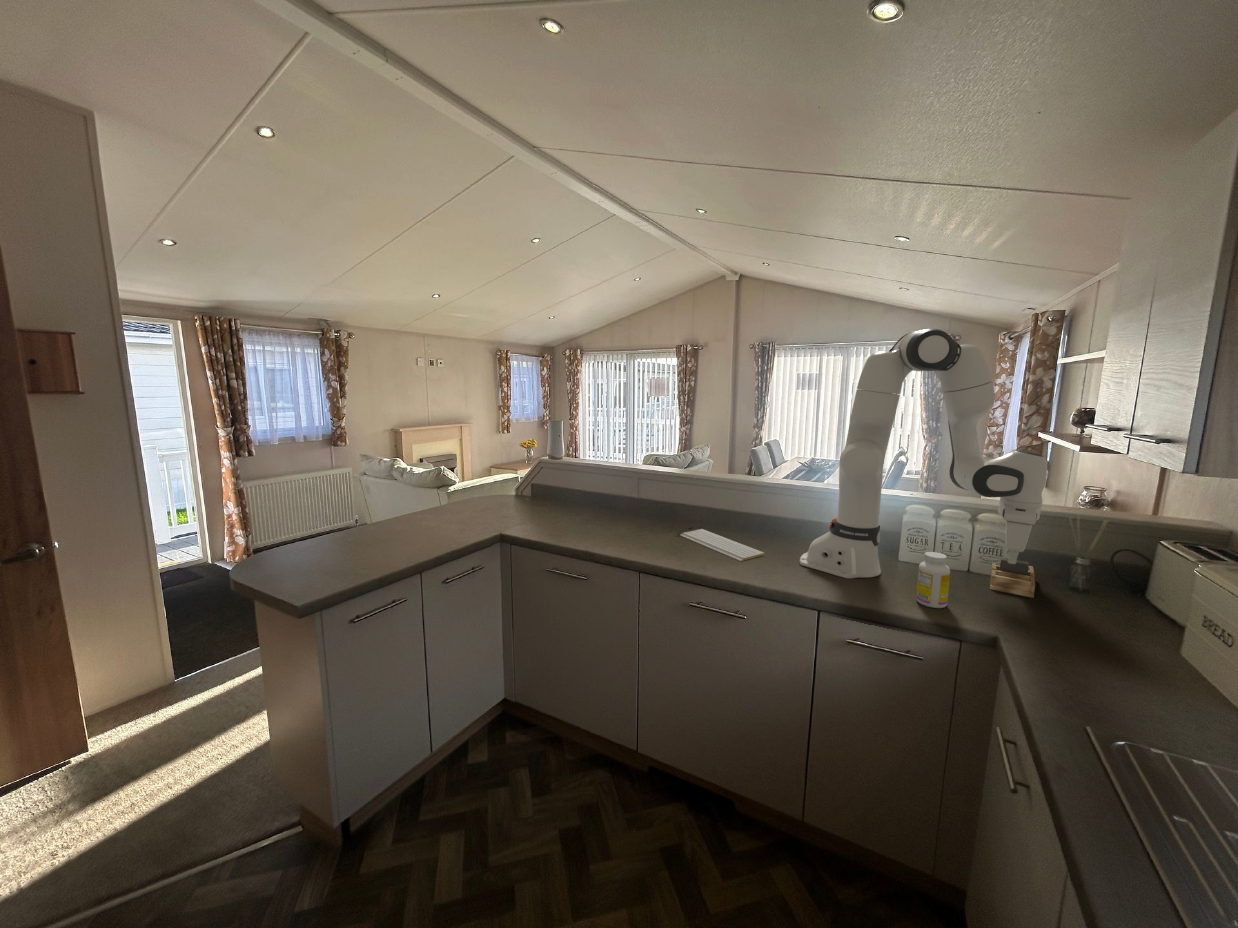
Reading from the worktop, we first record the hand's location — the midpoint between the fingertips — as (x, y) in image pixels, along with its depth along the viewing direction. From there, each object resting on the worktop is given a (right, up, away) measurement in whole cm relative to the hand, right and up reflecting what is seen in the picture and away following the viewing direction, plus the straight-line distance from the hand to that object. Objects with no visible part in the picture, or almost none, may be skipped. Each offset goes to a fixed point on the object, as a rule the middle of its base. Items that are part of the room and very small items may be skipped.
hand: (1011, 558), depth 134 cm
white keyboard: (-74, -3, +34) cm, 82 cm away
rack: (+1, -7, +1) cm, 7 cm away
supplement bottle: (-29, -10, -11) cm, 33 cm away
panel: (+1, -6, 0) cm, 6 cm away
